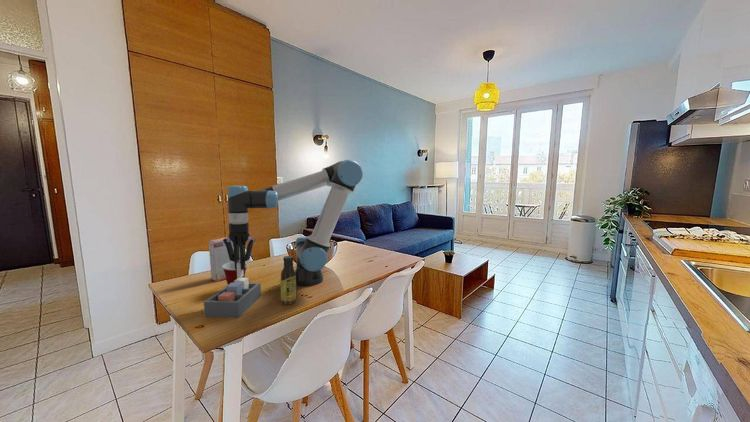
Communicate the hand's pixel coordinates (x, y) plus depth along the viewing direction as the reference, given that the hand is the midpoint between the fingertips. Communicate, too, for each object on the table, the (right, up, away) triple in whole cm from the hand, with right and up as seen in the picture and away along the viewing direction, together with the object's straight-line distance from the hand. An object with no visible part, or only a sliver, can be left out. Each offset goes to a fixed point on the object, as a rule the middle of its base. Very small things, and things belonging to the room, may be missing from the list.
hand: (240, 276), depth 123 cm
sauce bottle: (+21, -11, -1) cm, 24 cm away
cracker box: (-20, -7, +28) cm, 36 cm away
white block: (0, -6, +1) cm, 6 cm away
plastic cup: (-8, -9, +12) cm, 17 cm away
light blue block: (0, -7, -5) cm, 9 cm away
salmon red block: (0, -9, -11) cm, 14 cm away
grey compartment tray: (0, -11, -5) cm, 12 cm away
